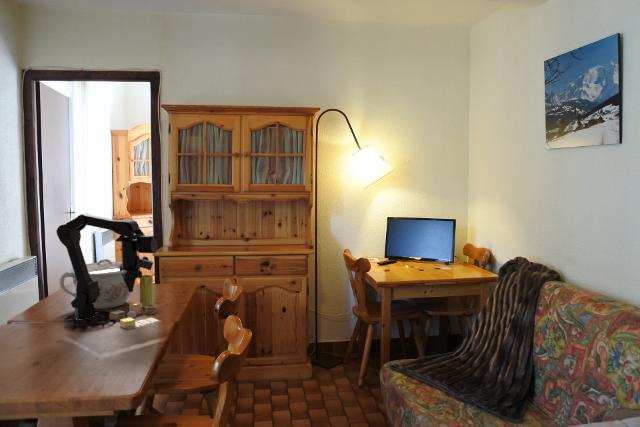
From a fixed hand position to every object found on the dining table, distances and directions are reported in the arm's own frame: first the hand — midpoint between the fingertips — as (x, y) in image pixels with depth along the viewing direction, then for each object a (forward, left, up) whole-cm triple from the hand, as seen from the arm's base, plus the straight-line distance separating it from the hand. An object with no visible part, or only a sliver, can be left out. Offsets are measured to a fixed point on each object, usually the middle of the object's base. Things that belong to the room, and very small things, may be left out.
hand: (130, 292), depth 195 cm
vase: (+15, +14, -13) cm, 24 cm away
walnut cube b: (+10, +3, -12) cm, 16 cm away
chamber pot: (+5, +32, -13) cm, 35 cm away
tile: (-5, -7, -11) cm, 14 cm away
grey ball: (+2, +3, -12) cm, 13 cm away
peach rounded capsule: (+6, +7, -12) cm, 15 cm away
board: (0, -7, -12) cm, 14 cm away
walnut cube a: (-3, +5, -12) cm, 14 cm away
